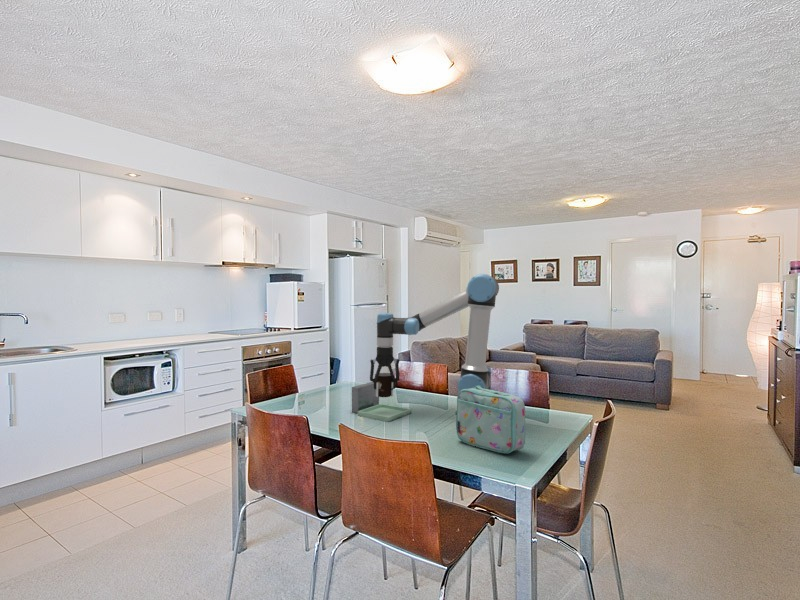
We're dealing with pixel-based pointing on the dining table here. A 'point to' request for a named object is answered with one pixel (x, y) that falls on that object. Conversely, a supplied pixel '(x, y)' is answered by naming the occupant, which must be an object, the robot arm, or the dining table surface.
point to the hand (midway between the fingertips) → (384, 395)
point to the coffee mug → (385, 384)
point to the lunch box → (490, 419)
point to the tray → (384, 412)
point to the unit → (364, 397)
